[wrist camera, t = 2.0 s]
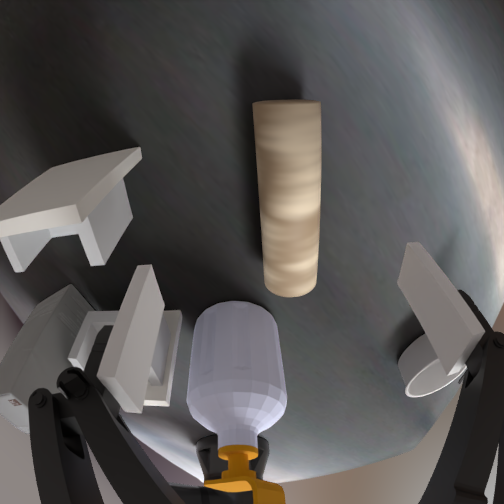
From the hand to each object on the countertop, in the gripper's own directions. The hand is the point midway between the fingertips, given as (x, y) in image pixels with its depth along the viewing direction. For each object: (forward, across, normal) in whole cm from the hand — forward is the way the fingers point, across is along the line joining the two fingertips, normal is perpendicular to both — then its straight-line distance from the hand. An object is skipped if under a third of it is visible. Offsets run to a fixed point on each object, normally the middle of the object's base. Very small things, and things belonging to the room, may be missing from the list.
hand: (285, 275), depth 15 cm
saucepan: (+11, -23, +22) cm, 33 cm away
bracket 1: (+11, +14, -3) cm, 18 cm away
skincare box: (+11, +24, +12) cm, 29 cm away
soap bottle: (+11, +4, +16) cm, 20 cm away
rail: (+11, 0, 0) cm, 11 cm away
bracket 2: (+11, +14, +11) cm, 21 cm away
